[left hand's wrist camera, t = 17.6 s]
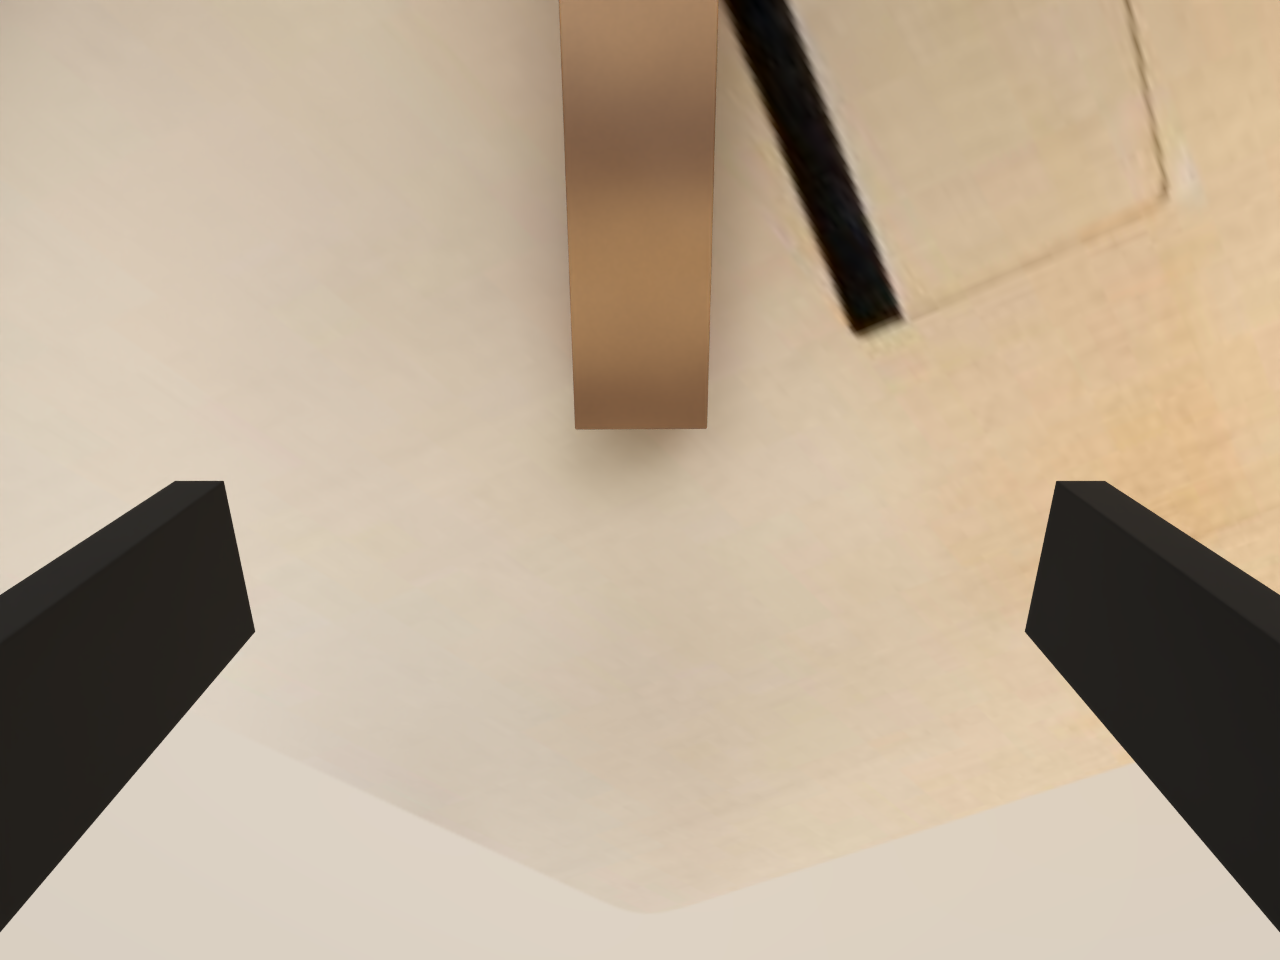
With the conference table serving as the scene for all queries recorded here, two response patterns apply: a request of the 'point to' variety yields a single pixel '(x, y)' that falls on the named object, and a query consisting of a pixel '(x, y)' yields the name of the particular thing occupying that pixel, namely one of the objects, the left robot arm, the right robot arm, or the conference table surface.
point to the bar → (639, 207)
